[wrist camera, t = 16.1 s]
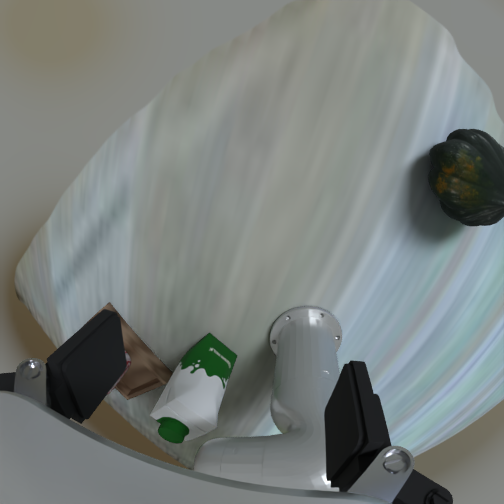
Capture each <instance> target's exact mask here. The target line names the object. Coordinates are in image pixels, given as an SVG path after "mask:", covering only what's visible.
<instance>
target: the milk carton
mask: <svg viewBox="0 0 504 504" xmlns="http://www.w3.org/2000/svg"><path fill="white" fill-rule="evenodd" d="M236 358H237V355H236V354H235V353H234V352H232V351H231V350H230V349H229V348H227V347H226V346H225V345H224V344H223V343H221V342H220V341H219V340H218V339H217V338H215V337H214V336H213V335H212V334H211V333H209V334H207V335H206V336H205V337H204V338H203V339H202V340H200V341H199V342H198V343H197V344H196V345H195V346H193V347H192V348H191V349H190V350H189V351H188V352H187V353H186V354H185V355H184V357H183V358H182V359H181V361H180V362H179V364H178V366H177V368H176V369H175V371H174V373H173V375H172V376H171V378H170V380H169V382H168V383H167V385H166V387H165V389H164V390H163V392H162V394H161V396H160V398H159V400H158V401H157V403H156V405H155V407H154V409H153V410H152V412H151V414H150V416H151V417H153V418H154V419H156V421H157V422H159V423H160V424H161V425H160V427H159V429H158V433H159V435H160V436H161V437H162V438H164V439H165V440H167V441H169V442H172V443H182V442H183V440H184V439H185V440H187V441H190V440H192V439H195V438H197V437H200V436H202V435H205V434H207V433H208V432H209V431H211V430H214V429H216V428H217V421H218V411H219V408H220V405H221V402H222V399H223V396H224V393H225V390H226V386H227V383H228V380H229V377H230V374H231V372H232V369H233V366H234V363H235V361H236Z"/></svg>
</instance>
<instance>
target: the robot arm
mask: <svg viewBox="0 0 504 504" xmlns="http://www.w3.org/2000/svg"><path fill="white" fill-rule="evenodd" d="M321 313H322V314H321ZM341 342H342V330H341V327H340V324H339V322H338V320H337V319H336V318H335V317H334V316H333V315H332V314H331V313H330V312H328V311H326V310H324V309H322V308H319V307H313V306H302V307H296V308H293V309H290V310H289V311H287V312H285V313H283V314H282V315H281V316H280V317H279V318H278V319H277V320H276V321H275V322H274V324H273V326H272V329H271V332H270V345H271V348H272V350H273V352H274V354H275V355H276V356H277V357H276V365H275V373H274V381H273V388H272V396H271V404H270V411H271V416H272V419H273V421H274V423H275V425H276V426H277V428H278V429H279V430H280V432H281V433H282V434H278V435H271V436H258V437H225V438H216V439H212V440H209V441H207V442H205V443H204V444H203V445H202V446H201V447H200V448H199V450H198V452H197V454H196V457H195V461H194V471H192V470H189V469H185V468H182V467H178V466H175V465H172V464H169V463H166V462H163V461H160V460H157V459H155V458H152V457H149V456H146V455H144V454H141V453H139V452H136V451H133V450H131V449H129V448H126V447H124V446H122V445H119V444H117V443H115V442H113V441H111V440H108V439H106V438H104V437H102V436H100V435H98V434H96V433H94V432H92V431H90V430H88V429H86V428H84V427H82V426H80V425H79V424H77V423H75V422H73V421H71V420H69V419H70V418H72V419H74V420H75V421H77V422H79V423H82V422H83V421H84V420H85V419H89V417H90V416H91V415H92V413H93V412H94V411H95V409H96V408H97V406H98V405H99V404H100V403H101V401H102V400H103V399H104V397H105V396H106V395H107V394H108V392H109V391H110V390H111V388H112V387H113V386H114V384H115V383H116V382H117V380H118V379H119V378H120V376H121V375H122V374H123V373H124V371H125V370H126V367H127V361H126V355H125V349H124V342H123V335H122V327H121V319H120V317H118V314H117V313H116V312H114V311H110V310H107V309H103V310H102V311H101V312H100V313H98V314H97V315H96V316H95V317H94V318H92V319H91V320H90V321H89V322H88V323H87V324H85V325H84V326H83V327H82V328H81V329H80V330H79V331H77V332H76V333H75V334H74V335H73V336H72V337H71V338H69V339H68V340H67V341H66V342H65V343H64V344H63V345H62V346H60V347H59V348H58V349H57V350H56V351H55V352H54V353H53V354H52V355H50V356H49V357H48V358H47V361H48V362H47V363H46V364H44V362H42V361H41V360H40V359H36V358H30V359H26V360H24V361H22V362H21V363H20V364H19V365H18V366H17V369H16V372H13V373H2V374H0V504H453V499H452V495H451V494H450V492H449V491H448V490H447V489H445V488H444V487H442V486H440V485H439V484H437V483H435V482H433V481H432V480H430V479H429V478H427V477H425V476H424V475H422V474H420V473H419V472H417V471H416V470H414V469H413V468H414V458H413V456H412V454H411V453H410V452H409V451H408V450H407V449H405V448H403V447H400V446H391V442H390V438H389V434H388V429H387V425H386V421H385V417H384V413H383V409H382V406H381V402H380V398H379V396H378V395H377V394H374V393H373V389H372V386H371V382H370V378H369V375H368V371H367V367H366V364H365V362H361V361H350V362H349V364H345V365H344V366H343V369H342V371H341V374H340V372H339V366H338V360H337V354H336V352H337V351H338V349H339V347H340V345H341Z"/></svg>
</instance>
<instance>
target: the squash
mask: <svg viewBox="0 0 504 504" xmlns="http://www.w3.org/2000/svg"><path fill="white" fill-rule="evenodd" d="M430 159H431V162H432V164H433V166H434V168H433V169H432V170H431V172H430V174H429V176H428V179H429V183H430V186H431V189H432V191H433V192H434V193H435V195H436V196H437V197H438V198H439V199H440V204H441V207H442V209H443V211H444V212H445V213H446V214H447V215H448V216H449V217H451V218H453V219H455V220H458V221H460V222H461V223H462V224H464V225H467V226H479V225H482V226H487V225H492V224H495V223H497V222H498V221H499V220H501V219H502V218H503V217H504V148H503V147H502V146H501V145H500V144H498V143H497V142H496V140H495V139H494V138H493V137H492V136H490V135H489V134H487V133H486V132H484V131H481V130H477V129H469V130H467V129H458V130H455V131H453V132H452V133H450V134H449V136H448V137H447V140H446V141H445V142H442V143H439V144H437V145H435V146H433V148H432V149H431V150H430Z"/></svg>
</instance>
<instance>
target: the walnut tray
mask: <svg viewBox="0 0 504 504" xmlns="http://www.w3.org/2000/svg"><path fill="white" fill-rule="evenodd" d="M103 309H107V310H110V311H114V312H116V313H117V314H118V317H120V319H121V327H122V335H123V342H124V349H125V351H126V352H127V353H128V355H129V357H130V359H131V365H130V367H129V369H128V370H127V372H126V373H125V374H124V376H123V377H122V378H121V380H120V381H119V382H118V384H117V385H116V386H115V388H116V389H117V390H118V391H119V392H120V393H121V394H122V395H123V396H124V397H125V398H126V399H127V400H128V399H131V398H133V397H136V396H138V395H141V394H143V393H146V392H148V391H150V390H153V389H155V388H157V387H160V386H162V385H164V384H167V382H168V380H169V379H170V377H171V375H172V372H171V371H170V370H169V369H168V368H167V367H166V366H165V365H164V364H163V363H162V362H161V361H160V360H159V359H158V358H157V356H156V355H155V354H154V353H153V352H152V351H151V350H150V349H149V348H148V347H147V346H146V345H145V343H144V342H143V341H142V340H141V339H140V338H139V337H138V336H137V335H136V333H135V332H134V331H133V330H132V329H131V328H130V326H129V325H128V324H127V323H126V322H125V320H124V319H123V318H122V317H121V316H120V314H119V313H118V312H117V311H116V310H115V308H114V307H113V306H112V305H111V303H110V302H109V303H108V304H107V305H106V306H104V307H103V308H102V309H101V310H100V311H99V312H98V313H100V312H101V311H102V310H103ZM98 313H97V314H98ZM97 314H95V315H94V316H93V317H92V318H94V317H95V316H96V315H97ZM92 318H91V319H92ZM91 319H90V320H91ZM90 320H89V321H90ZM89 321H88V322H89ZM88 322H87V323H88ZM87 323H86V324H87Z"/></svg>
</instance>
